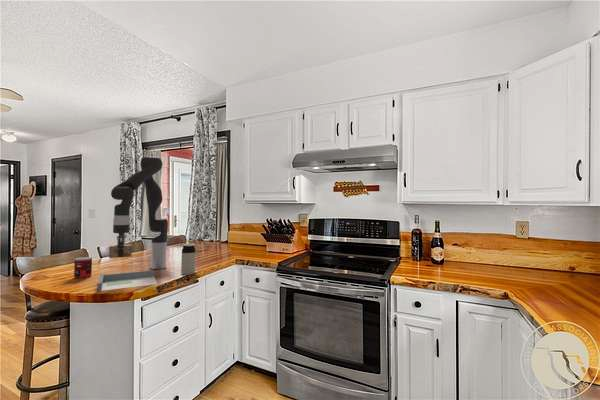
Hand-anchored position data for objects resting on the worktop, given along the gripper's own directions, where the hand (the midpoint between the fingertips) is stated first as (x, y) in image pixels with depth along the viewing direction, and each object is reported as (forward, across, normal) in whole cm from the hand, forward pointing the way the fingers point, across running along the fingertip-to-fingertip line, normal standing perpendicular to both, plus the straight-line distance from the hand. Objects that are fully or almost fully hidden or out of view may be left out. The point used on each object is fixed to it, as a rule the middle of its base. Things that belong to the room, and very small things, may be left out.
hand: (120, 255), depth 152 cm
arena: (+15, -2, -4) cm, 16 cm away
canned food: (+15, +25, +18) cm, 34 cm away
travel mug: (+15, +7, -36) cm, 40 cm away
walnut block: (+1, 0, 0) cm, 1 cm away
